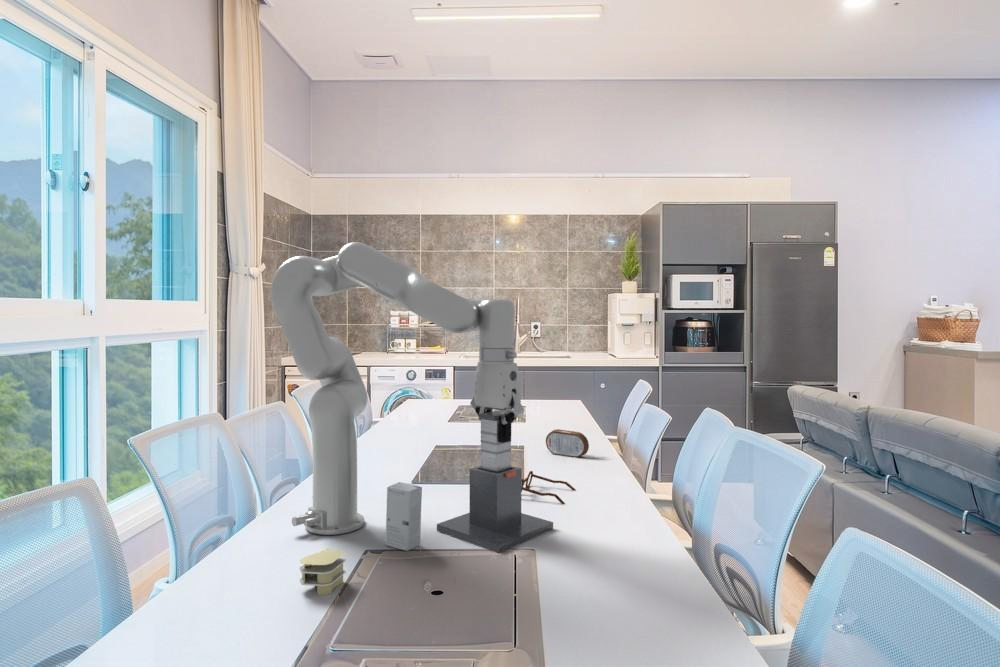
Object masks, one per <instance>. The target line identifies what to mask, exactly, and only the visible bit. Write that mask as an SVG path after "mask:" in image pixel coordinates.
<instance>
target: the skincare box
mask: <svg viewBox="0 0 1000 667" xmlns="http://www.w3.org/2000/svg"><path fill="white" fill-rule="evenodd" d="M422 493H423V486H420V485H416V484H412V483H405V482H400V481H399V482H396V483H394V484H391V485H389V486H387V488H386V512H385V513H386V515H385V516H386V518H385V522H386V523H385V545H386V546H388V547H390V548H391V547H392V548H394V549H399V550H403V551H405V552H406V551H411V550H412V549H414V548H417V547H418V546H419V545H420V544H421V529H422V528H421V527H422V526H421V525H422V523H421V522H422V500H423V498H422V497H423V496H422V495H423V494H422Z"/></svg>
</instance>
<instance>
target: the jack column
mask: <svg viewBox="0 0 1000 667" xmlns="http://www.w3.org/2000/svg"><path fill="white" fill-rule="evenodd" d="M506 416H507V412H506ZM478 417H479V418H478V420H479V419H481V421H480V466H481V470H484V471H488V472H492V473H496V474H498V473H501V472H504V471H508V470H511V466H512V465H511V463H512V462H511V459H512V458H511V457H512V455H511V453H512V452H511V451H512V440H511V441H509V442H504V443H500V441H499V435H500V433H499V425H500V424H502V421H501V416H500V410H495V411H493V410H492V412H487V413H481V414H479V416H478Z"/></svg>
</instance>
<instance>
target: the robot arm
mask: <svg viewBox="0 0 1000 667" xmlns="http://www.w3.org/2000/svg"><path fill="white" fill-rule="evenodd" d="M358 287H364V288H365V289H367V290H370V291H372V292H373V293H375V294H377V295H379V296H382V297H383V298H385V299H386V300H389V301H390V302H392V303H394V304H395V305H396V304H397V306H400V307H401V308H404V309H406V310H408V311H410V312H412V313H413V314H415V315H417V316H418V317H421V318H423V319H425V320H426V321H428V322H430V323H433V324H434V325H436V326H438V327H440V328H442V329H444V330H446V331H447V332H448V331H449V332H450V333H454V334H463V333H468V332H475V331H478V332H479V335H478V338H479V344H478V345H479V350H478V351H479V352H478V353H479V354H478V362H477V365H476V369H475V370H476V371H475V376H474V389H473V391H474V392H473V393H474V394H473V395H474V396H473V397H472V399H471V400H470V406H471V407H472V408H473V409H474V410H475V412H476V415H477V416H478V420H479V421H480V422H481V419H479V414H481V413H487V412H493V410H496V411H500V416H501V421H502V424H500V425H499V433H500V435H499V441H500V443H504V442H509V441H511V442H512V424H513V423H514V422H515V420H516V419H517V418H518V416H519V415H521V414H522V413H523V412H524V410H525V408H524V407H523V405H522V403H521V400H522V398H521V397H522V395H521V380H520V373H519V369H518V368H519V367H518V364H517V363H516V362H515V359H516V358H517V356H518V355H517V352H516V351H515V304H514V303H513V301H512V300H509V299H504V298H503V299H501V298H498V299H497V298H494V299H491V298H490V299H488V298H487V299H483V300H477V299H470V298H466V297H463V296H461V295H459V294H456V293H454V292H452V291H451V290H448V289H446V288H445V287H443V286H441V285H439V284H437V283H435V282H433V281H431V280H430V279H428V278H426V277H425V276H424V275H422V273H421V272H419V271H418V270H416V269H415V268H413V267H412V266H409V265H407V264H405V263H403V262H401V261H399V260H397V259H395V258H394V257H391V256H389V255H387V254H385V253H383V252H381V251H379V250H378V249H376V248H375V247H373V246H371V245H368V244H365V243H364V242H359V241H352V242H348V243H347V244H345V245H344V246H342V247H341V249H340V250H339V251H338V253H337V255H335V256H331V257H327V258H324V259H319V258H316V257H314V256H308V255H307V256H306V255H298V256H297V255H296V256H293V257H291V258H288V259H287V260H285V261H284V262H283V263H282V264H281V265H280V266H279V267H278V269H277V270H276V272H275V273H274V275H273V277H272V280H271V284H270V299H271V303H272V307H273V310H274V312H275V314H276V317H277V319H278V321H279V324H280V326H281V329H282V331H283V333H284V337H285V339H286V342H287V345H288V347H289V349H290V352H291V355H292V357H293V360H294V363H295V365H296V367H297V370H298V371H299V373H300V375H301V376H303V378H304V379H307V380H309V381H319V383H320V385H321V387H320V388H319V389H318V390H316V392H314V394H313V395H312V397H311V400H310V402H309V406H308V416H309V422H310V423H309V424H310V431H311V442H312V444H311V445H312V446H311V447H312V449H311V450H312V452H311V453H312V506H309V507H308V508H307V509H308V510H307V511H306V512H305V513H304V514H302V515H301V514H300V515H297V516H296V515H295V516H293V517H292V518H291V523H292V526H293V527H297V526H301V525H304V527H305V529H306V531H308V532H309V533H312V534H315V535H323V536H330V535H331V536H332V535H333V536H334V535H342V534H346V533H351V532H354V531H356V530H357V531H358V530H359V529H360V528H362V527H363V526H364V524H365V516H363V515H362V514H361V513H358V441H357V430H356V425H355V419H356V418H358V417H359V416H361V414H363V412H364V411H365V410H366V407H367V405H368V392H367V390H366V387H365V386H366V385H365V384H364V381H363V379H362V375H361V374H360V372H359V369H358V366H357V365H356V364H357V363H356V361H355V358H354V356H353V354H352V352H351V350H350V349H349V347H348V346H347V344H345V342H344V341H342V340H341V339H339V338H337V337H333V336H330V335H329V334H328V332H327V330H326V328H325V325H324V322H323V319H322V316H321V315H320V313H319V311H318V309H317V307H316V306H315V305H314V302H313V300H312V297H325V296H326V297H327V296H331V295H334V294H335V295H336V294H338V293H341V292H344V291H345V292H346V291H349V290H353V289H355V288H358ZM506 412H507V416H506Z"/></svg>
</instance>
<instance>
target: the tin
mask: <svg viewBox="0 0 1000 667" xmlns="http://www.w3.org/2000/svg"><path fill="white" fill-rule="evenodd" d="M545 445H546V449H547V450H548V451H549V452H550V453H551V454H553V455H557V456H561V457H568V458H574V457H575V458H576V459H577V458H581V457H584V456H585V455H586V454H587V453H588V451H589V448H590V443H589V440H588V438H587V437H586V436H585V435H584V433H582V432H579V431H574V430H565V429H557V428H556V429H554V430H552V431H550V432H549V433H548V434H547V435H546V438H545Z"/></svg>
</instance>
